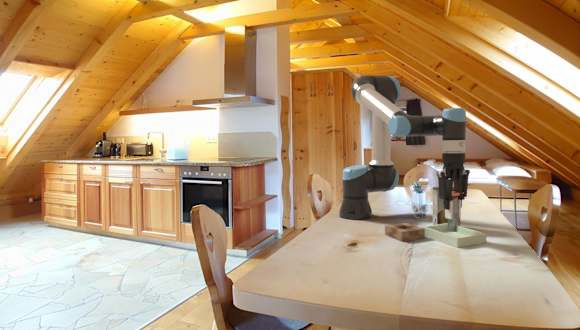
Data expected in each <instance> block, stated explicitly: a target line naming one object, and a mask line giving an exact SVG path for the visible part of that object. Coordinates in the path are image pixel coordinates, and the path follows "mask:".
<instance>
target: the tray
mask: <svg viewBox="0 0 580 330" xmlns="http://www.w3.org/2000/svg"><path fill="white" fill-rule="evenodd" d="M420 227H421V228H424V229H425V237H426V238H430V239H432V240H435V241H438V242H440V243H443V244H446V245H449V246H452V247H455V248H462V247H468V246H473V245H479V244H484V243H485V244H486V243H487V233H484V232H481V231H477V230H474V229H471V228H467V227H464V226H461V225H460V226H458V232H450V231H448V223H444V224H437V225H433V224H431V225H425V226H424V225H423V226H420Z"/></svg>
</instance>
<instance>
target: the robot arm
mask: <svg viewBox="0 0 580 330" xmlns="http://www.w3.org/2000/svg"><path fill="white" fill-rule="evenodd" d="M401 91H402V87H401V84H400V82H399V80H398V79H397V78H396V77H395V76H391V75H375V74H374V75H371V74H364V75H361V76H359V77H357V78H356V79H355V80H354V81H353V82H352V84H351V87H350V93H351V97H352V99H353V100H354V101H355V102H356V103H358V104H359V105H360V106H361V105H363V106H365V107H366V108H367V109H368V110H369V111H371V112H372V120H371V121H372V122H371V123H372V125H371V126H372V129H371V134H372V135H371V160H370V161H369V162H368V165H366V164H359V165H357V164H356V165H351V166H347V167H345V168H344V169H343V170H342V178H341V179H342V201H341V204H340V207H339V211H338V213H339V214H338V216H339V217H340V218H343V219H346V220H347V219H348V220H366V219H370V218H372V217H373V211H372V208H371V205H370V202H369V193H379V192H381V193H382V192H383V193H385V192H390V191H393V190H394V189H396V187H397V186H398V184H399V180H400V174H399V171H398V168H397V167H395V166H394V165H395V163H394V161H392V159H391V153H392V152H391V150H392V149H391V147H392V136H393V137H398V138H404V137H434V136H435V137H436V136H439V137H440V136H442V140H441V141H442V142H441V143H442V144H441V147H442V148H441V151H442V152H443V153H442V154H441V162H442V163H443V167H442V170H440V171H438V170H437V171H436V175H437V179H438V181H437V182H438V187H439V198H441V199H443V200H444V209H445V218H448V219H452V218H453V201H451V195H452V187H454V190H455V192H460V196H458V218H460V219H461V216H462V207H463V200H465V199H466V198H467V196H468V186H469V185H468V184H469V175H470V174H471V171H470V169H466V168H465V166H464V164H466V153H465V152H466V140H467V139H466V134H467V133H466V130H467V111H466V109H465V108H463V107H453V108H452V107H450V108H444V109H443V110H442V114H441V115H410V114H408V113H406V112H405V111H404V110H403V109H401V108H400V107H399V106H397V105H396V102H398V100H399V99H400V97H401V94H402V92H401Z"/></svg>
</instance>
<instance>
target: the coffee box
mask: <svg viewBox="0 0 580 330" xmlns="http://www.w3.org/2000/svg"><path fill="white" fill-rule="evenodd" d="M452 191H455V190H454V186H453V187H452ZM444 223H448V218H445V209H444V200H443V199H441V198H439V186H436V187H435V186H433V187H432V225H437V224H444ZM458 226H461V218H458Z"/></svg>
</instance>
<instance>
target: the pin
mask: <svg viewBox="0 0 580 330" xmlns="http://www.w3.org/2000/svg"><path fill="white" fill-rule="evenodd" d="M458 196H460V192H455V191H452V195H451V201H453V218H452V219H448V231H450V232H458Z"/></svg>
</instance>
